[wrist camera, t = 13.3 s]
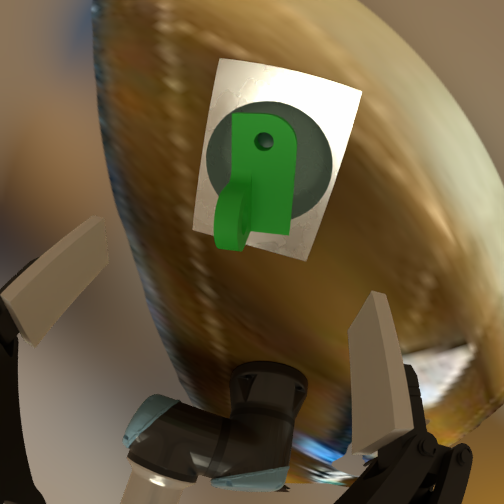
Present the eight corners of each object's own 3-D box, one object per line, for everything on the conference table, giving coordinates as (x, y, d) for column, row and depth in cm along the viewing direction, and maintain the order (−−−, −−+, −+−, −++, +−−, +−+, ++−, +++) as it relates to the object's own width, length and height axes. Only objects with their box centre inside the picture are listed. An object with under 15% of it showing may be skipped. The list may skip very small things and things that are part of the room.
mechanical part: (290, 227, 30) (284, 269, 23) (236, 221, 30) (215, 260, 24) (299, 115, 23) (296, 121, 16) (237, 112, 24) (210, 118, 17)
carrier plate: (306, 256, 33) (306, 262, 32) (195, 225, 33) (191, 230, 32) (359, 91, 22) (362, 91, 21) (223, 59, 22) (219, 57, 21)
